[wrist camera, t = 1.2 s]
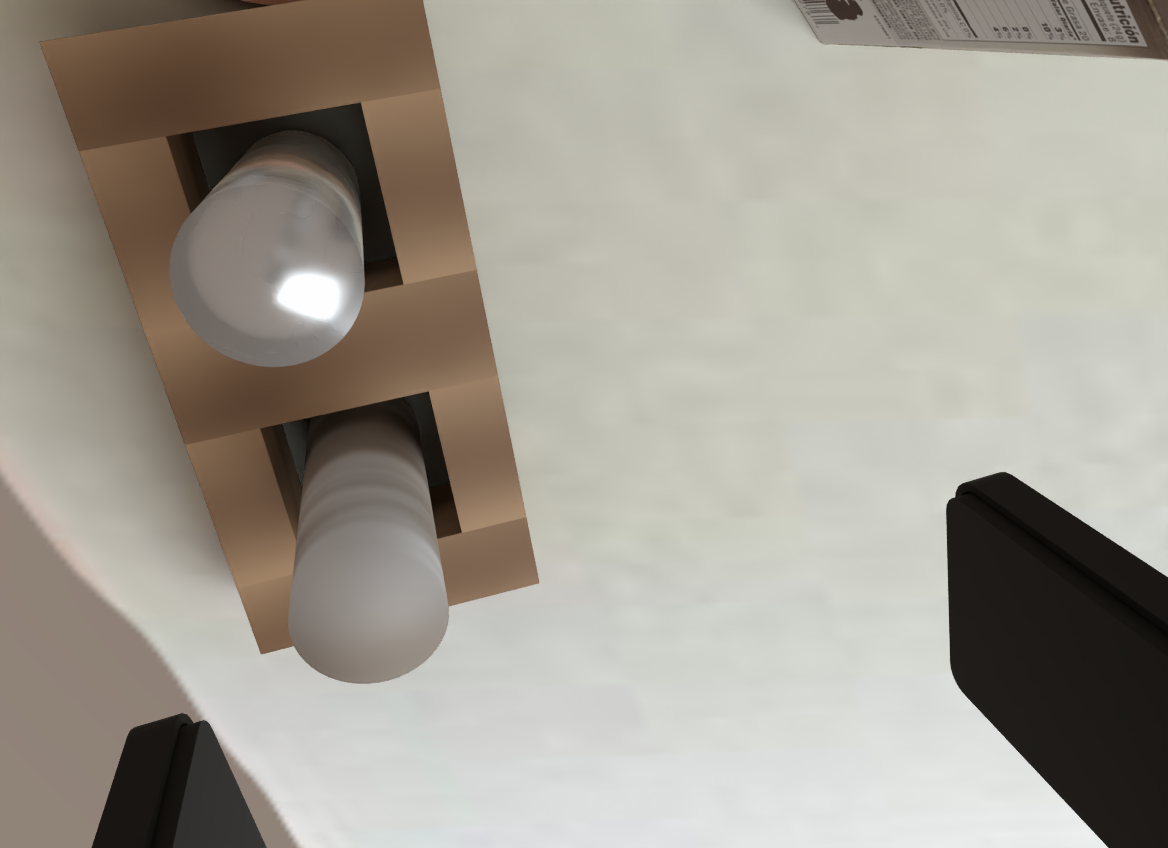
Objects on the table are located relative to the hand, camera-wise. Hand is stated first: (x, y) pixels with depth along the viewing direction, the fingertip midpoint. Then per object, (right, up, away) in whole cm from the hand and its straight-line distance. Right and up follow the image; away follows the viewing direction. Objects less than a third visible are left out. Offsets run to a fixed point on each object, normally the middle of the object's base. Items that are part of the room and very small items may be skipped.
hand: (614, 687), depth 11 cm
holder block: (-9, +7, +21) cm, 24 cm away
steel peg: (-10, +11, +19) cm, 24 cm away
